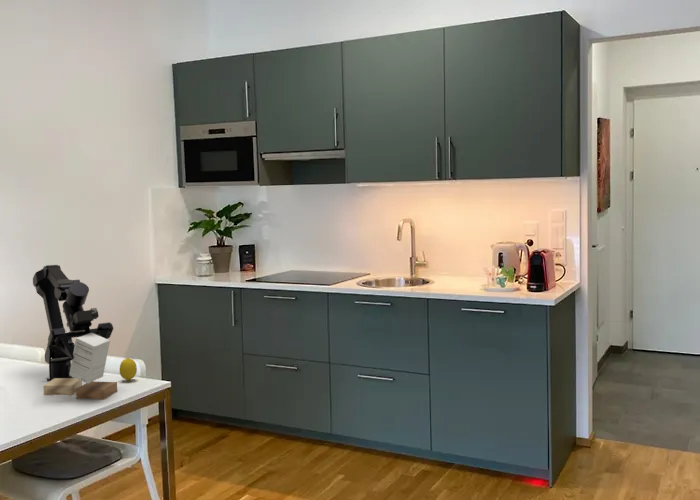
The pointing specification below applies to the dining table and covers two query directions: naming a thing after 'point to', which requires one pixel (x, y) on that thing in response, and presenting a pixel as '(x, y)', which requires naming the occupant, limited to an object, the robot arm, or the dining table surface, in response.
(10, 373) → the dining table surface
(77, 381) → the pale oak block
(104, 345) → the supplement box
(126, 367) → the lemon
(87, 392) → the walnut block
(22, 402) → the dining table surface
